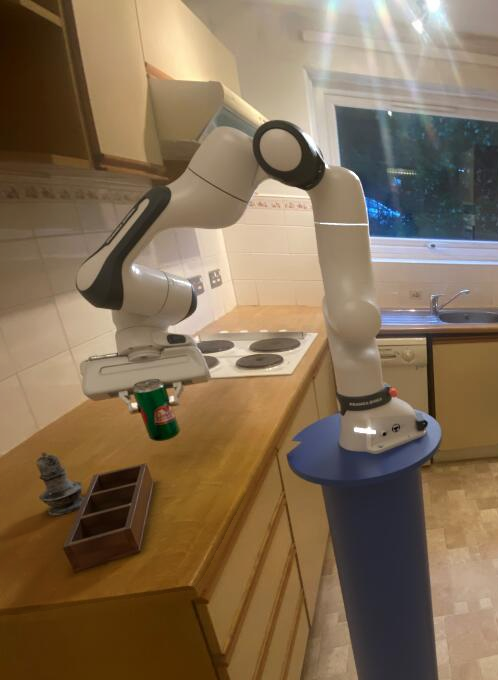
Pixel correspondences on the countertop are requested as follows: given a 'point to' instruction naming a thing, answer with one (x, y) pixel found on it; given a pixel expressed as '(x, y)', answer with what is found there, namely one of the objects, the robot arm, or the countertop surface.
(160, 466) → the countertop surface
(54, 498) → the grey stacked stone piece
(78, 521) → the wooden compartment tray
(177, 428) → the soda can
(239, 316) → the countertop surface
